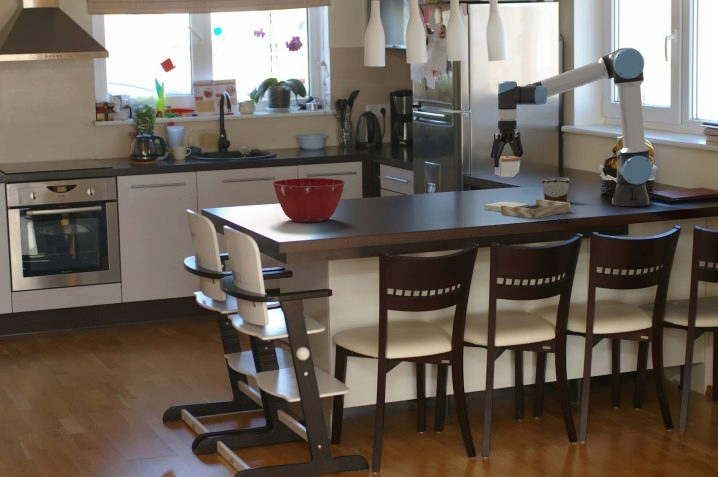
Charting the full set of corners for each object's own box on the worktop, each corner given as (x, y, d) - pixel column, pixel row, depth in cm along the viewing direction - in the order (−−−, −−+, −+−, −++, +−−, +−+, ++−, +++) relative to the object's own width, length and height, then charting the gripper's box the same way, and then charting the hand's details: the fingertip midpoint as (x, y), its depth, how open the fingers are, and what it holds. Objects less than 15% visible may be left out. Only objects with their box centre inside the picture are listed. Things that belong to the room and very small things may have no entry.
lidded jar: (499, 178, 466) (499, 155, 465) (489, 175, 477) (489, 152, 475) (524, 177, 469) (524, 154, 468) (513, 174, 479) (514, 151, 478)
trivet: (529, 209, 475) (529, 204, 475) (508, 212, 466) (508, 207, 466) (504, 206, 484) (504, 201, 484) (484, 209, 476) (484, 204, 475)
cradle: (570, 211, 466) (570, 202, 466) (533, 218, 451) (533, 209, 450) (537, 207, 478) (537, 199, 478) (501, 214, 463) (501, 205, 462)
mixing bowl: (306, 212, 475) (306, 175, 473) (360, 218, 458) (360, 179, 455) (258, 222, 454) (257, 182, 451) (313, 228, 436) (312, 187, 433)
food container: (569, 200, 498) (569, 177, 496) (570, 202, 492) (570, 178, 490) (540, 200, 499) (540, 177, 497) (541, 202, 493) (541, 179, 491)
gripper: (518, 117, 479) (517, 170, 483) (481, 121, 464) (481, 175, 468) (532, 118, 474) (532, 171, 478) (495, 121, 458) (495, 177, 462)
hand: (506, 173), depth 473 cm, fingers closed on lidded jar, 11 cm apart
